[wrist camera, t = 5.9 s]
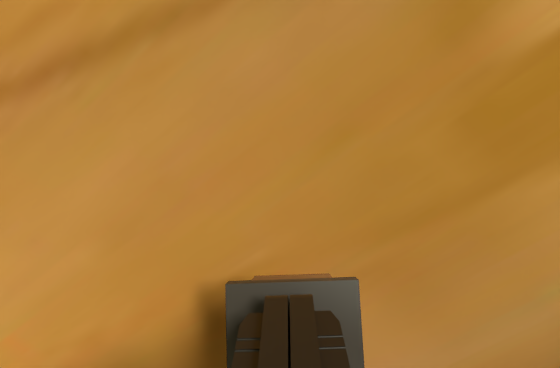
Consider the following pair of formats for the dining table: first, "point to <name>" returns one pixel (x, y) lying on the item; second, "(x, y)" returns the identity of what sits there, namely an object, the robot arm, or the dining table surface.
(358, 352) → the lever
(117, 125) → the dining table surface
